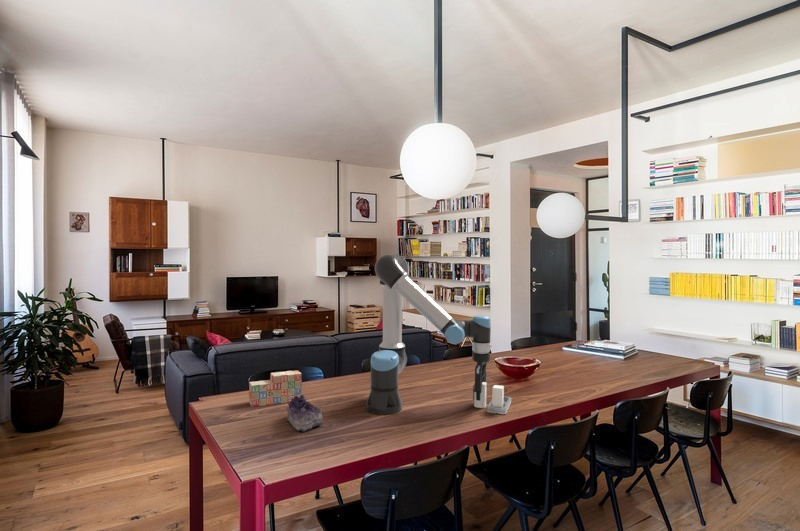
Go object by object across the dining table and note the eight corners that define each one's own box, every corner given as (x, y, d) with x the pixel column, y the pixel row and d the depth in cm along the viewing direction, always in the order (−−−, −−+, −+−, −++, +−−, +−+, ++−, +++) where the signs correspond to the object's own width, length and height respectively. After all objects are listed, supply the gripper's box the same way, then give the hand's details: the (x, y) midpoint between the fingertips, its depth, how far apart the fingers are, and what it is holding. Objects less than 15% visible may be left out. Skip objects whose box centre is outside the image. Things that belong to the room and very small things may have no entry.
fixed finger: (492, 411, 196) (492, 387, 196) (494, 407, 201) (494, 384, 201) (501, 412, 195) (502, 388, 195) (503, 408, 200) (504, 385, 199)
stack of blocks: (251, 407, 198) (251, 378, 197) (249, 403, 203) (249, 374, 203) (301, 400, 207) (301, 373, 207) (298, 396, 213) (298, 369, 213)
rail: (505, 414, 193) (505, 409, 193) (487, 412, 195) (487, 407, 195) (511, 401, 209) (511, 396, 209) (494, 399, 212) (494, 394, 212)
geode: (276, 418, 186) (279, 393, 186) (303, 417, 192) (306, 392, 193) (295, 433, 169) (299, 405, 169) (325, 431, 175) (328, 404, 176)
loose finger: (484, 408, 201) (485, 384, 200) (472, 406, 202) (473, 383, 202) (486, 405, 204) (486, 382, 204) (474, 403, 206) (475, 381, 206)
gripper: (485, 357, 192) (484, 413, 193) (493, 348, 211) (492, 398, 211) (467, 355, 194) (466, 410, 195) (477, 346, 213) (476, 396, 214)
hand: (480, 404), depth 203 cm, fingers open, 7 cm apart
